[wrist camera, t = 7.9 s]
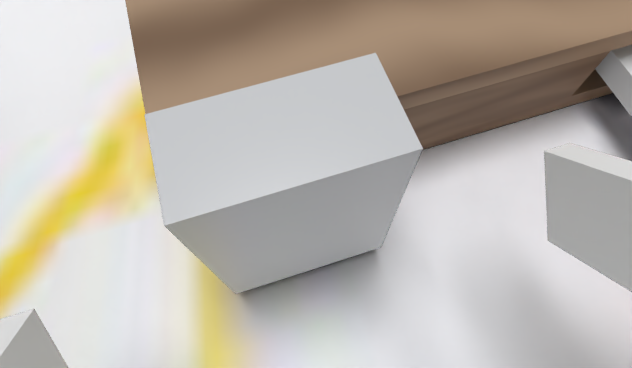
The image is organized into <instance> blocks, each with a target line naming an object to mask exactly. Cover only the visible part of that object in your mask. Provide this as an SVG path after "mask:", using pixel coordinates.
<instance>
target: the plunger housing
mask: <svg viewBox="0 0 632 368" xmlns="http://www.w3.org/2000/svg"><path fill="white" fill-rule="evenodd" d="M125 1H126V7H127V12H128V18H129V24H130V29H131V35H132V40H133V46H134V51H135V57H136V63H137V68H138V74H139V79H140V85H141V91H142V96H143V102H144V107H145V113H146V114H148V113H152V112H155V111H159V110H163V109H167V108H170V107H174V106H178V105H182V104H185V103H189V102H193V101H197V100H200V99H204V98H208V97H211V96H215V95H219V94H223V93H226V92H230V91H234V90H238V89H241V88H245V87H249V86H253V85H256V84H260V83H264V82H268V81H271V80H275V79H279V78H283V77H286V76H290V75H294V74H298V73H301V72H305V71H309V70H313V69H316V68H320V67H324V66H328V65H331V64H335V63H339V62H343V61H346V60H350V59H354V58H358V57H361V56H365V55H369V54H373V53H376V54H377V56H378V58H379V60H380V62H381V64H382V66H383V68H384V71H385V73H386V75H387V77H388V79H389V81H390V83H391V85H392V87H393V89H394V91H395V93H396V95H397V97H398V99H399V101H400V103H401V105H402V107H403V109H404V111H405V113H406V115H407V117H408V119H409V121H410V123H411V125H412V127H413V129H414V131H415V133H416V136H417V138H418V140H419V142H420V144H421V146H422V148H423V149H427V148H430V147H434V146H437V145H440V144H444V143H447V142H450V141H454V140H457V139H460V138H464V137H467V136H470V135H474V134H477V133H480V132H484V131H487V130H491V129H494V128H497V127H501V126H504V125H507V124H511V123H514V122H517V121H521V120H524V119H527V118H531V117H534V116H537V115H541V114H544V113H548V112H551V111H554V110H558V109H561V108H564V107H568V106H571V105H574V104H578V103H581V102H584V101H588V100H591V99H594V98H598V97H601V96H605V95H608V94H611V93H613V92H612V91H611V89H610V88H609V87H608V85H607V84H606V83H605V81H604V80H603V79H602V77H601V76H600V75H599V73H598V72H597V71H596V70H595V69H596V67H597V66H598V65H599V64H600V63H601V62H602V60H603V59H604V58H605V57H606V56H607V55H608V54H609V52H610V51H611V50H614V49H618V48H622V47H625V46H629V45H632V0H125Z"/></svg>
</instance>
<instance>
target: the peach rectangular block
mask: <svg viewBox="0 0 632 368" xmlns="http://www.w3.org/2000/svg"><path fill="white" fill-rule="evenodd" d="M595 70H596V71H597V72H598V73H599V75H600V76H601V77H602V79H603V80H604V81H605V83H606V84H607V85H608V87H609V88H610V89H611V91H612V92H613V93H614V94H615V96H616V97H617V98H618V100H619V101H620V102H621V104H622V105H623V106H624V108H625V109H626V110H627V112H628V113H629V114H630V115H631V117H632V45H629V46H625V47H622V48H618V49H614V50H611V51H610V52H609V54H608V55H607V56H606V57H605V58H604V59H603V60H602V62H601V63H600V64H599V65H598V66H597V67H596V69H595Z"/></svg>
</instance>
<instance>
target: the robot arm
mask: <svg viewBox="0 0 632 368" xmlns="http://www.w3.org/2000/svg"><path fill="white" fill-rule="evenodd" d="M544 160H545V185H546V210H547V235H548V241H549V242H551V243H553V244H554V245H556V246H557V247H559V248H561V249H562V250H564V251H566V252H567V253H569V254H570V255H572V256H574V257H575V258H577V259H579V260H580V261H582V262H584V263H585V264H587V265H588V266H590V267H592V268H593V269H595V270H597V271H598V272H600V273H601V274H603V275H605V276H606V277H608V278H610V279H611V280H613V281H614V282H616V283H618V284H619V285H621V286H623V287H624V288H626V289H627V290H629V291H631V292H632V161H630V160H626V159H623V158H619V157H616V156H613V155H609V154H606V153H602V152H599V151H596V150H592V149H589V148H585V147H582V146H578V145H575V144H572V143H568V144H565V145H562V146H558V147H555V148H552V149H549V150H545V151H544ZM0 368H68V366H67V364H66V363H65V361H64V359H63V358H62V356H61V354H60V352H59V351H58V349H57V347H56V345H55V344H54V342H53V340H52V339H51V337H50V335H49V333H48V332H47V330H46V328H45V327H44V325H43V323H42V321H41V320H40V318H39V316H38V315H37V313H36V311H35V309H31V310H28V311H25V312H22V313H18V314H15V315H12V316H9V317H5V318H2V319H0Z"/></svg>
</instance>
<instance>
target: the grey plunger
mask: <svg viewBox="0 0 632 368" xmlns="http://www.w3.org/2000/svg"><path fill="white" fill-rule="evenodd" d="M145 120H146V125H147V131H148V137H149V142H150V148H151V154H152V159H153V165H154V170H155V176H156V182H157V187H158V193H159V199H160V204H161V210H162V216H163V221H164V226H165V227H166V228H167V229H168V230H169V231H170V232H171V233H172V234H173V235H175V236H176V237H177V238H178V239H179V240H180V241H181V242H182V243H183V244H184V245H185V246H186V247H187V248H188V249H189V250H190V251H191V252H192V253H193V254H194V255H195V256H196V257H197V258H198V259H200V260H201V261H202V262H203V263H204V264H205V265H206V266H207V267H208V268H209V269H210V270H211V271H212V272H213V273H214V274H215V275H216V276H217V277H218V278H219V279H220V280H221V281H222V282H223V283H225V284H226V285H227V286H228V287H229V288H230V289H231V290H232V291H233V292H234V293H235V294H238V293H241V292H244V291H247V290H250V289H253V288H256V287H260V286H263V285H266V284H269V283H272V282H275V281H278V280H281V279H284V278H287V277H291V276H294V275H297V274H300V273H303V272H306V271H309V270H312V269H315V268H319V267H322V266H325V265H328V264H331V263H334V262H337V261H340V260H343V259H346V258H350V257H353V256H356V255H359V254H362V253H365V252H368V251H371V250H374V249H377V248H381V246H382V244H383V242H384V239H385V237H386V234H387V232H388V230H389V227H390V225H391V223H392V220H393V218H394V216H395V213H396V211H397V209H398V206H399V204H400V201H401V199H402V197H403V194H404V192H405V190H406V187H407V185H408V183H409V180H410V178H411V176H412V173H413V171H414V169H415V166H416V164H417V161H418V159H419V157H420V154H421V152H422V150H423V148H422V146H421V144H420V142H419V140H418V138H417V136H416V133H415V131H414V129H413V127H412V125H411V123H410V121H409V119H408V117H407V115H406V113H405V111H404V109H403V107H402V105H401V103H400V101H399V99H398V97H397V95H396V93H395V91H394V89H393V87H392V85H391V83H390V81H389V79H388V77H387V75H386V73H385V71H384V68H383V66H382V64H381V62H380V60H379V58H378V56H377V54H376V53H373V54H369V55H365V56H361V57H358V58H354V59H350V60H346V61H343V62H339V63H335V64H331V65H328V66H324V67H320V68H316V69H313V70H309V71H305V72H301V73H298V74H294V75H290V76H286V77H283V78H279V79H275V80H271V81H268V82H264V83H260V84H256V85H253V86H249V87H245V88H241V89H238V90H234V91H230V92H226V93H223V94H219V95H215V96H211V97H208V98H204V99H200V100H197V101H193V102H189V103H185V104H182V105H178V106H174V107H170V108H167V109H163V110H159V111H155V112H152V113H148V114H145Z"/></svg>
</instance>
